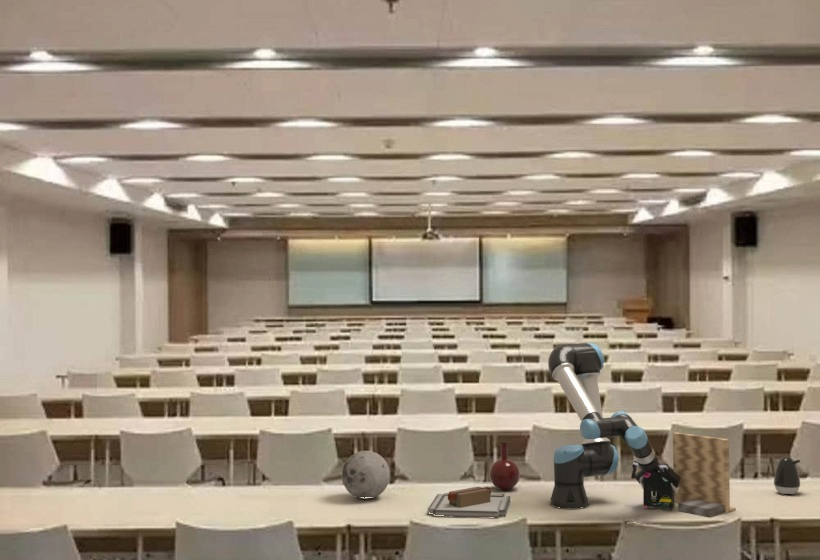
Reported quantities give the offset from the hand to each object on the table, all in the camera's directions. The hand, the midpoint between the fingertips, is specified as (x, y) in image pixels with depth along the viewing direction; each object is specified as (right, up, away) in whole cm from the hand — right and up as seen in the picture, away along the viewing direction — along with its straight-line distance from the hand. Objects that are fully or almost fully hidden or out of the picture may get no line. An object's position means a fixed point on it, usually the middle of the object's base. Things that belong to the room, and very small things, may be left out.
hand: (661, 489), depth 398 cm
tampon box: (-1, -7, -2) cm, 7 cm away
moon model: (-118, -9, +23) cm, 120 cm away
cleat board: (+13, -6, -6) cm, 15 cm away
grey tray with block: (-75, -9, +2) cm, 76 cm away
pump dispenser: (+56, -5, +17) cm, 59 cm away
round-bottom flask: (-58, -8, +35) cm, 69 cm away
